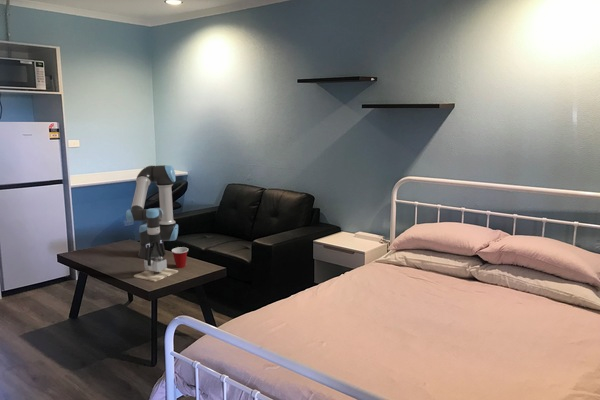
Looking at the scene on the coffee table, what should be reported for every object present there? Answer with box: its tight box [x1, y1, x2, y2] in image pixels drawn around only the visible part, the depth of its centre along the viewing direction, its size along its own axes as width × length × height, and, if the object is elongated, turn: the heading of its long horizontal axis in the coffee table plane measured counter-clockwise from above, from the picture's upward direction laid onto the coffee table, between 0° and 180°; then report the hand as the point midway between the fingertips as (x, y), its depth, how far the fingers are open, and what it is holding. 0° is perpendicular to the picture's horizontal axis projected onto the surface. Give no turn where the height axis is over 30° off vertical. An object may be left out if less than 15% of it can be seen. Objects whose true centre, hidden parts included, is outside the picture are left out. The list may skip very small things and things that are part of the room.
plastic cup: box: [171, 246, 189, 269], centre depth 313 cm, size 11×11×12 cm
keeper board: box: [133, 256, 179, 282], centre depth 298 cm, size 20×18×12 cm
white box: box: [143, 257, 168, 272], centre depth 297 cm, size 8×11×6 cm
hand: (155, 268), depth 298 cm, fingers closed on white box, 8 cm apart
